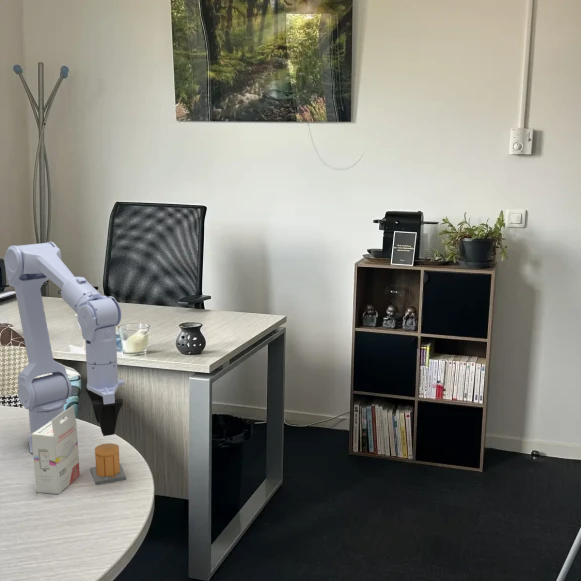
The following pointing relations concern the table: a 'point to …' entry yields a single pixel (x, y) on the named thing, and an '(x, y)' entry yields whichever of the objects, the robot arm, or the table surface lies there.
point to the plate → (105, 479)
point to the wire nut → (107, 459)
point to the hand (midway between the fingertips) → (105, 428)
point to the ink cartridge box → (56, 453)
